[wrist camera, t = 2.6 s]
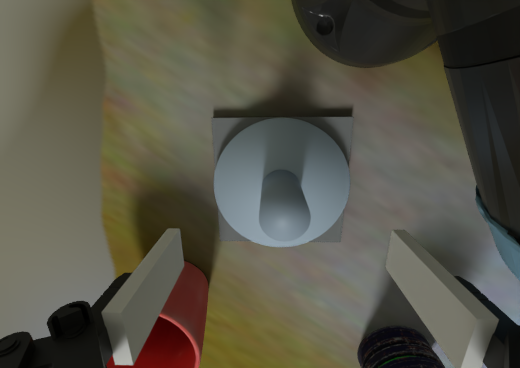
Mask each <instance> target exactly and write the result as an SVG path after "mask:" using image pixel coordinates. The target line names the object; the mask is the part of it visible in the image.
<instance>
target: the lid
mask: <svg viewBox="0 0 520 368" xmlns="http://www.w3.org/2000/svg"><path fill="white" fill-rule="evenodd" d="M349 190H350V174H349V168H348V164H347V161H346V159H345V157H344V154H343V153H342V151H341V149H340V148H339V146H338V145H337V144H336V142H335V141H334V140H333V139H332V138H331V137H330V136H329V135H328V134H326V133H325V132H324V131H322V130H321V129H319V128H318V127H316V126H314V125H312V124H310V123H308V122H305V121H302V120H298V119H293V118H271V119H267V120H262V121H260V122H257V123H254V124H252V125H250V126H248V127H247V128H245V129H244V130H242V131H241V132H239V133H238V134H237V135H236V136H235V137H234V138H233V139H232V140H231V141H230V142H229V144H228V145H227V146H226V147H225V149H224V150H223V152H222V154H221V156H220V158H219V160H218V162H217V166H216V169H215V174H214V193H215V198H216V202H217V205H218V207H219V209H220V212H221V213H222V215H223V217H224V218H225V220H226V221H227V222H228V223H229V225H230V226H231V227H232V228H233V229H234V230H235V231H237V232H238V233H239V234H241V235H242V236H244V237H245V238H247V239H249V240H251V241H253V242H256V243H259V244H262V245H266V246H271V247H290V246H297V245H300V244H304V243H306V242H309V241H311V240H313V239H315V238H317V237H319V236H320V235H322V234H323V233H324V232H326V231H327V230H328V229H329V228H330V227H331V226H332V225H333V224H334V223H335V222H336V221H337V219H338V218H339V216H340V215H341V213H342V212H343V209H344V207H345V205H346V202H347V199H348V196H349Z"/></svg>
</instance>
